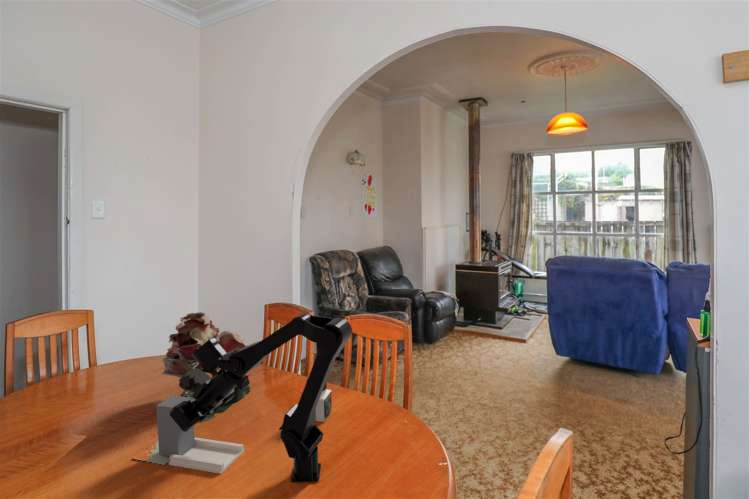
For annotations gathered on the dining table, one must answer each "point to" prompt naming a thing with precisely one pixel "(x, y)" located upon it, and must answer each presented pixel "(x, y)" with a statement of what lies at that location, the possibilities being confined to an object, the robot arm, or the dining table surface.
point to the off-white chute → (208, 455)
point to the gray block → (172, 429)
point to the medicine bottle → (324, 405)
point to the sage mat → (157, 456)
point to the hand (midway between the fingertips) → (186, 422)
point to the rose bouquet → (191, 339)
